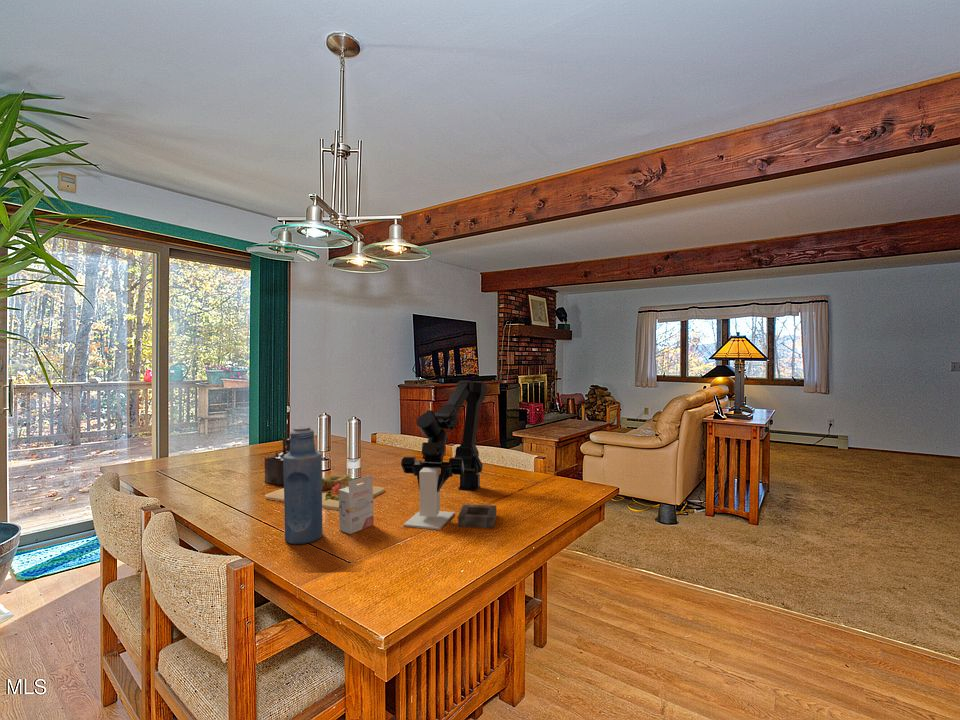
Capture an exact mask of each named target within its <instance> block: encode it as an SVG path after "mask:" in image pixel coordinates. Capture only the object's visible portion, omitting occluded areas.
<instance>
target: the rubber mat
mask: <svg viewBox="0 0 960 720" xmlns="http://www.w3.org/2000/svg"><path fill="white" fill-rule="evenodd" d="M454 515H455V511H454V512H453V511H443V510H440V511H439V513H438V515H437V517H433V516H420V510H419V511H417V512H415V514H414V515H413V516H411V517H410V518H409V519H408V520H407V521H406V522H404V523H403V527H407V528H417V529H426V530H435V531H436V530H437V531H440V530H441V529H443V527H444V526H445V525H446V524H447V523H448V522H449V521H450V520H451V519H452V517H454Z"/></svg>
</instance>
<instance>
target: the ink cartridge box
mask: <svg viewBox="0 0 960 720" xmlns="http://www.w3.org/2000/svg"><path fill="white" fill-rule="evenodd" d="M372 477H373V476H372V475H370V474H369V475H367V476H362V477H358V478H356V479H355V480H351V481H349V482H348V484H349V487H346V488H343V489H339V511H338V515H339V516H338V518H339V531H340V532H343V533H345V534H348V535H351V534H354V533H357V532H360V531H362V530H364V529H367V528H369V527H372V526H374V497H373V486H374V485H373V478H372ZM356 484H357V485H356Z"/></svg>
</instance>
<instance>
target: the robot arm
mask: <svg viewBox="0 0 960 720" xmlns="http://www.w3.org/2000/svg"><path fill="white" fill-rule="evenodd" d="M487 392H488V386H487V384H486V383H485V381H478V380H477V381H475V380H473V381H471V380H460V381H459V380H458V382H457V384H456V388H455V389H454V390H453V392H452V394H451V396H450V397H449V398H448V400H447V401H446V404H445V405H442V406H441V407H439V408H438V409H437V410H436V411H434V410H429V409H427V410H426V411H425V412H424V413H422V414H420V416H418V417H417V418H416V426H417V427H418V428H419V430H420V431H421V432H422V434H423V435H424V437H426V438H427V442H422V444H421V454H422V456H421V457H422V459H423V460H424V461H422V460H420V459H417V458H416V456H404V457H402V459H401V462H400V465H401V468H402V471H403V472H404V473H405V474H413V475H414V477H415V476H416V479H417V484H418V485H417V486H418V490H419V492H420V487H419V472H420V471H421V470H422V468H440V476H439V480H438V485H437V492H439V490H440V491H441V489H442V487H443V486H444V485H445V483H446V481H447V480H448V479H449V478H451V477H453V475H457V476H459V486H458V490H467V491H476V490H477V489H478V488H479V487H480V485H481V476H480V474H479V473H482V471H483V463H482V461H481V459H480V458H479V455H480V454H479V450H478V447H477V445H476V441H477V434H478V433H477V432H478V424H479V414H480V407H481V405H482V404H483V403H484V401H485V400H486V395H487ZM465 402H466V407H465V408H466V410H465V417H464V423H463V424H464V425H463V432H462V441H461V444H459V446H457V447H456V448H455V455H454V457H449V458H448V460H449V461H444V457H445V453H446V449H447V447H446V446H447V445H446V444H447V441H449V437H448V434H447V431H446V430H449V431H453V430H454V429H455V428H456V426H457V423H458V420H459V417H458V414H459V411H461V408H462V406H463V404H464V403H465Z"/></svg>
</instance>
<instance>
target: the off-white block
mask: <svg viewBox="0 0 960 720" xmlns="http://www.w3.org/2000/svg"><path fill="white" fill-rule="evenodd" d="M440 471H441V469H440V468H422V470H421V471H420V472H419V485H418V488H419V487H420V491H419V511H420V516H433V517H437V515H438V513H439V511H441V489H440V490H439V492H437V485H438V480H439V476H440Z"/></svg>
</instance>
